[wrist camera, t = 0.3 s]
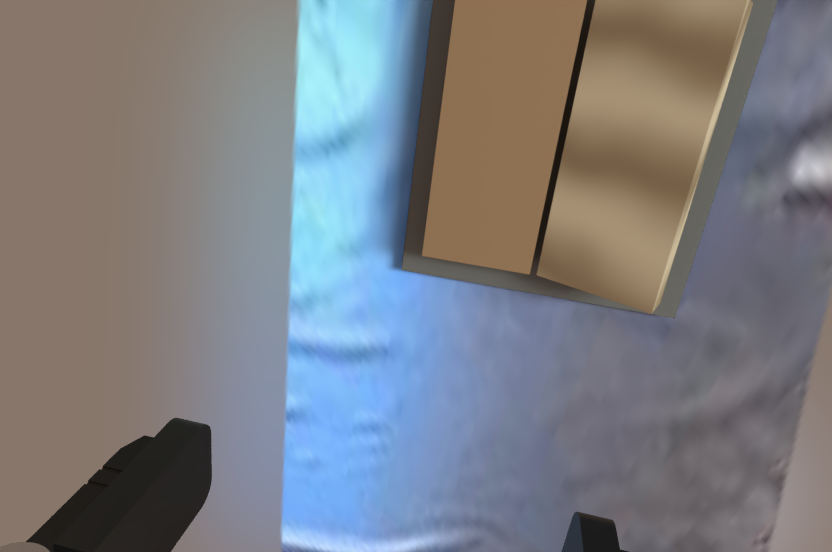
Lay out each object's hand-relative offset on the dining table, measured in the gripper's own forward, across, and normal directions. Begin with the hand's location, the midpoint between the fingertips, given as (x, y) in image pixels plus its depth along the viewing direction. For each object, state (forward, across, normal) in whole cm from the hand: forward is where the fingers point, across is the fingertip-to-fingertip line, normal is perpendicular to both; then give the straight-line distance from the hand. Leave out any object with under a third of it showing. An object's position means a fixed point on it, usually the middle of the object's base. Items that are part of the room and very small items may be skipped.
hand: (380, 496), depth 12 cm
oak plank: (+25, -8, -5) cm, 27 cm away
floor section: (+27, -5, -4) cm, 28 cm away
